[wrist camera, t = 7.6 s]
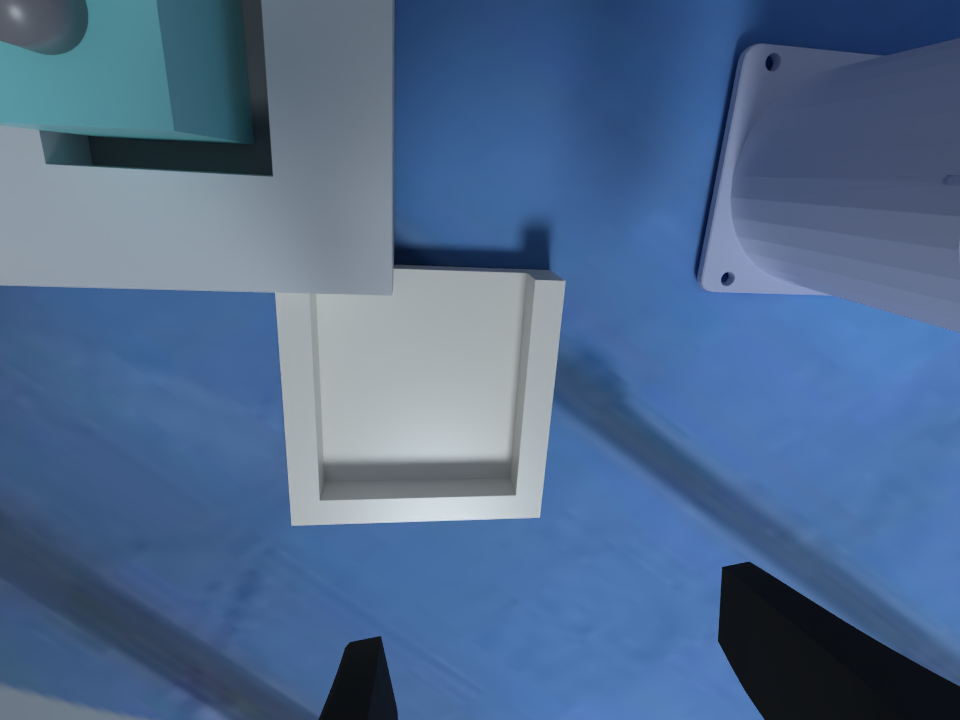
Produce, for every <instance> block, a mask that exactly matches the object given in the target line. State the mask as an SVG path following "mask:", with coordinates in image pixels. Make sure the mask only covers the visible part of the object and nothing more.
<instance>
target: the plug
mask: <svg viewBox="0 0 960 720" xmlns="http://www.w3.org/2000/svg"><path fill="white" fill-rule="evenodd" d="M0 126H8V127H17V128H26V129H35V130H44V131H53V132H62V133H71V134H80V135H89V136H98V137H107V138H122V139H143V140H165V141H186V142H208V143H229V144H251V145H255V143H254V132H253V121H252V110H251V100H250V89H249V78H248V67H247V56H246V46H245V35H244V24H243V13H242V2H241V0H0Z"/></svg>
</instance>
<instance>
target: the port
mask: <svg viewBox="0 0 960 720" xmlns="http://www.w3.org/2000/svg"><path fill="white" fill-rule="evenodd" d="M241 2H242V13H243V24H244V35H245V46H246V56H247V67H248V78H249V89H250V100H251V110H252V121H253V132H254V143H255V145H251V144H229V143H208V142H186V141H165V140H143V139H122V138H107V137H98V136H89V135H80V134H71V133H62V132H53V131H44V130H35V129H26V128H17V127H8V126H0V285H9V286H47V287H84V288H122V289H160V290H198V291H236V292H274V293H312V294H349V295H387V296H392V292H393V268H394V88H395V0H241Z"/></svg>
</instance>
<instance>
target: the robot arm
mask: <svg viewBox="0 0 960 720" xmlns="http://www.w3.org/2000/svg"><path fill="white" fill-rule="evenodd" d="M768 56H770V57H771V58H772V60H773V66H772V68H771V70H770V71H769V70H767V68H766V66H765V61H766V59H767V57H768ZM726 272H728V279H727V281H726V282H725V283H723V284H722V283H721V278H722V275H723V274H724V273H726ZM697 282H698V284H699V286H700V287H701V288H702V289H704V290H707V291H710V292H735V293H769V294H802V295H832V296H836V297H839V298H842V299H846V300H849V301H853V302H856V303H860V304H863V305H866V306H870V307H873V308H877V309H880V310H883V311H887V312H890V313H894V314H897V315H901V316H904V317H907V318H911V319H914V320H918V321H921V322H924V323H928V324H931V325H935V326H938V327H941V328H945V329H948V330H952V331H955V332H959V333H960V38H957V39H953V40H949V41H944V42H940V43H936V44H932V45H928V46H924V47H919V48H915V49H911V50H907V51H903V52H899V53H894V54H890V55H886V56H881V55H871V54H861V53H852V52H842V51H832V50H822V49H812V48H802V47H793V46H783V45H773V44H763V43H760V44H755V45H752V46H749V47H748V48H746V49H745V50H744V51H743V52H742V54H741V55H740V57H739V60H738V64H737V70H736V75H735V80H734V85H733V91H732V96H731V101H730V107H729V112H728V117H727V122H726V128H725V133H724V138H723V143H722V149H721V154H720V159H719V164H718V170H717V175H716V180H715V186H714V191H713V196H712V201H711V207H710V212H709V217H708V222H707V228H706V233H705V238H704V243H703V249H702V254H701V259H700V265H699V270H698V275H697ZM718 642H719V644H720V646H721V648H722V649H723V651H724V653H725V655H726V657H727V659H728V661H729V663H730V665H731V666H732V668H733V670H734V672H735V674H736V675H737V677H738V679H739V681H740V683H741V684H742V686H743V688H744V690H745V691H746V693H747V694H748V696H749V697H750V699H751V700H752V702H753V703H754V705H755V706H756V708H757V709H758V711H759V712H760V714H761V715H762V716H763V718H764V719H765V720H960V686H958V685H956V684H954V683H952V682H950V681H948V680H946V679H945V678H943V677H941V676H939V675H937V674H935V673H933V672H931V671H930V670H928V669H926V668H924V667H922V666H921V665H919V664H917V663H915V662H913V661H912V660H910V659H908V658H906V657H905V656H903V655H901V654H899V653H897V652H896V651H894V650H892V649H890V648H889V647H887V646H885V645H883V644H882V643H880V642H878V641H877V640H875V639H873V638H871V637H870V636H868V635H866V634H865V633H863V632H861V631H860V630H858V629H856V628H855V627H853V626H851V625H850V624H848V623H847V622H845V621H843V620H842V619H840V618H838V617H837V616H835V615H834V614H832V613H830V612H829V611H827V610H826V609H824V608H822V607H821V606H819V605H818V604H816V603H814V602H813V601H811V600H810V599H808V598H806V597H805V596H803V595H802V594H800V593H799V592H797V591H795V590H794V589H792V588H791V587H789V586H788V585H786V584H784V583H783V582H781V581H780V580H778V579H777V578H775V577H773V576H772V575H770V574H769V573H767V572H765V571H764V570H762V569H761V568H759V567H757V566H756V565H754V564H752V563H751V562H745V563H740V564H735V565H730V566H725V567H722V581H721V598H720V616H719V634H718ZM319 720H398V713H397V707H396V702H395V698H394V693H393V689H392V684H391V679H390V675H389V670H388V666H387V661H386V657H385V652H384V648H383V643H382V639H381V636H379V637H374V638H369V639H364V640H359V641H354V642H350V643H349V644H348V645H347V646H346V648H345V650H344V653H343V657H342V660H341V663H340V666H339V668H338V671H337V674H336V677H335V680H334V682H333V685H332V687H331V690H330V693H329V695H328V698H327V700H326V703H325V705H324V708H323V710H322V713H321V715H320V717H319Z"/></svg>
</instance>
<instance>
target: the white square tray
mask: <svg viewBox="0 0 960 720" xmlns="http://www.w3.org/2000/svg"><path fill="white" fill-rule="evenodd" d="M565 282H566V281H565V280H564V279H562V278H561V277H559V276H558V275H556V274H555V273H554V272H552V271H551V270H534V269H505V268H476V267H447V266H418V265H394V268H393V292H392V296H387V295H349V294H312V293H275V297H276V311H277V325H278V340H279V354H280V368H281V382H282V396H283V410H284V424H285V438H286V453H287V467H288V481H289V495H290V509H291V523H292V526H297V525H328V524H359V523H389V522H420V521H451V520H482V519H512V518H540V511H541V502H542V493H543V484H544V475H545V465H546V456H547V447H548V438H549V429H550V420H551V410H552V401H553V392H554V383H555V374H556V365H557V355H558V346H559V337H560V328H561V319H562V310H563V300H564V291H565Z"/></svg>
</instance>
